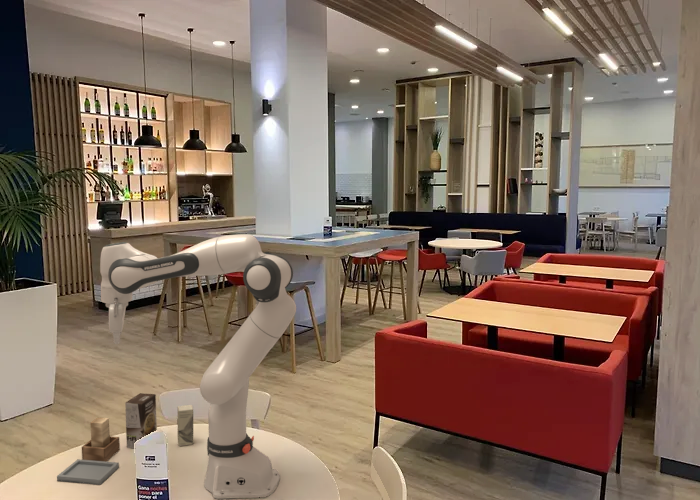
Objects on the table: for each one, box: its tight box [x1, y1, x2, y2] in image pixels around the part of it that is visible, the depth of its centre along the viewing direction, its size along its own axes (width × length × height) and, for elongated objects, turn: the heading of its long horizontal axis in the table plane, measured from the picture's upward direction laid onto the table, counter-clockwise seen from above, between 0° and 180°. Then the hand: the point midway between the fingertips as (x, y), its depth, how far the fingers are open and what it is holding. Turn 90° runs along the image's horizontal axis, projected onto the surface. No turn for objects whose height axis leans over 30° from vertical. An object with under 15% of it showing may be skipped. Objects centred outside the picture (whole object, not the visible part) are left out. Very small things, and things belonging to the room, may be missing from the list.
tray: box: [56, 458, 120, 486], centre depth 165 cm, size 14×10×2 cm
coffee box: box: [124, 392, 158, 449], centre depth 185 cm, size 9×6×16 cm
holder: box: [81, 436, 121, 462], centre depth 177 cm, size 8×8×4 cm
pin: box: [89, 416, 111, 448], centre depth 176 cm, size 4×4×12 cm
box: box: [177, 404, 194, 447], centre depth 185 cm, size 5×4×13 cm
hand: (117, 338), depth 165 cm, fingers open, 8 cm apart
